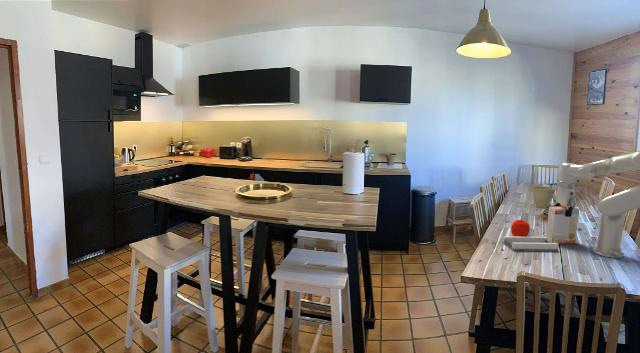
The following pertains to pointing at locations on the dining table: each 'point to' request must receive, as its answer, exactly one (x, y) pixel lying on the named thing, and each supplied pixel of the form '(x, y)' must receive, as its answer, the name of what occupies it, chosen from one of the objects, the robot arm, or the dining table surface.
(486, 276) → the dining table surface
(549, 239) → the cracker box
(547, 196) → the plant pot
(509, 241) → the shallow gray tray
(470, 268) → the dining table surface
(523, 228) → the apple
